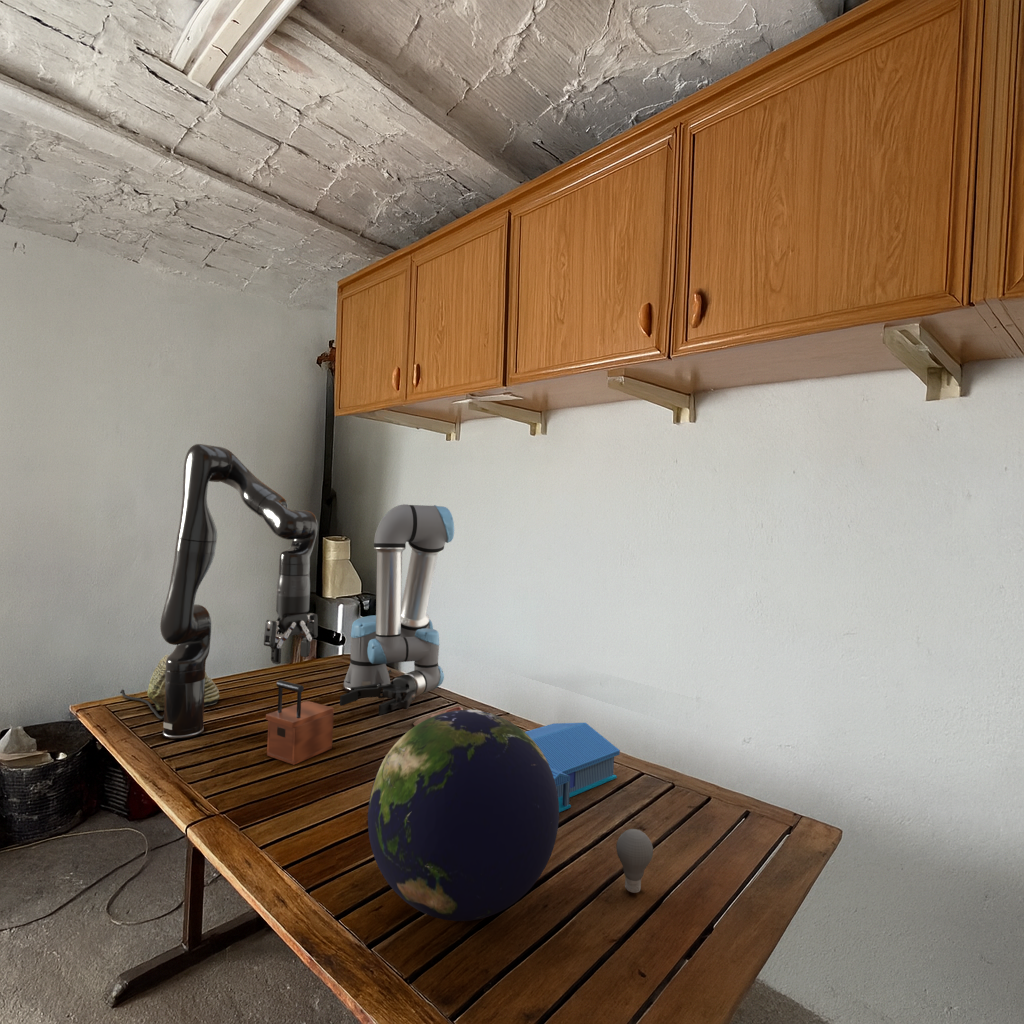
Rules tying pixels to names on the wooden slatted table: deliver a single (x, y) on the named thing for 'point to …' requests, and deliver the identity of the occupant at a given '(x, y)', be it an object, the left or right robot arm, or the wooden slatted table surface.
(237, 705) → the wooden slatted table surface
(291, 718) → the lid
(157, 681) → the fossil
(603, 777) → the model building
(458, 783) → the globe
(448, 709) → the anatomical model
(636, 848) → the light bulb
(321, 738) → the chest
